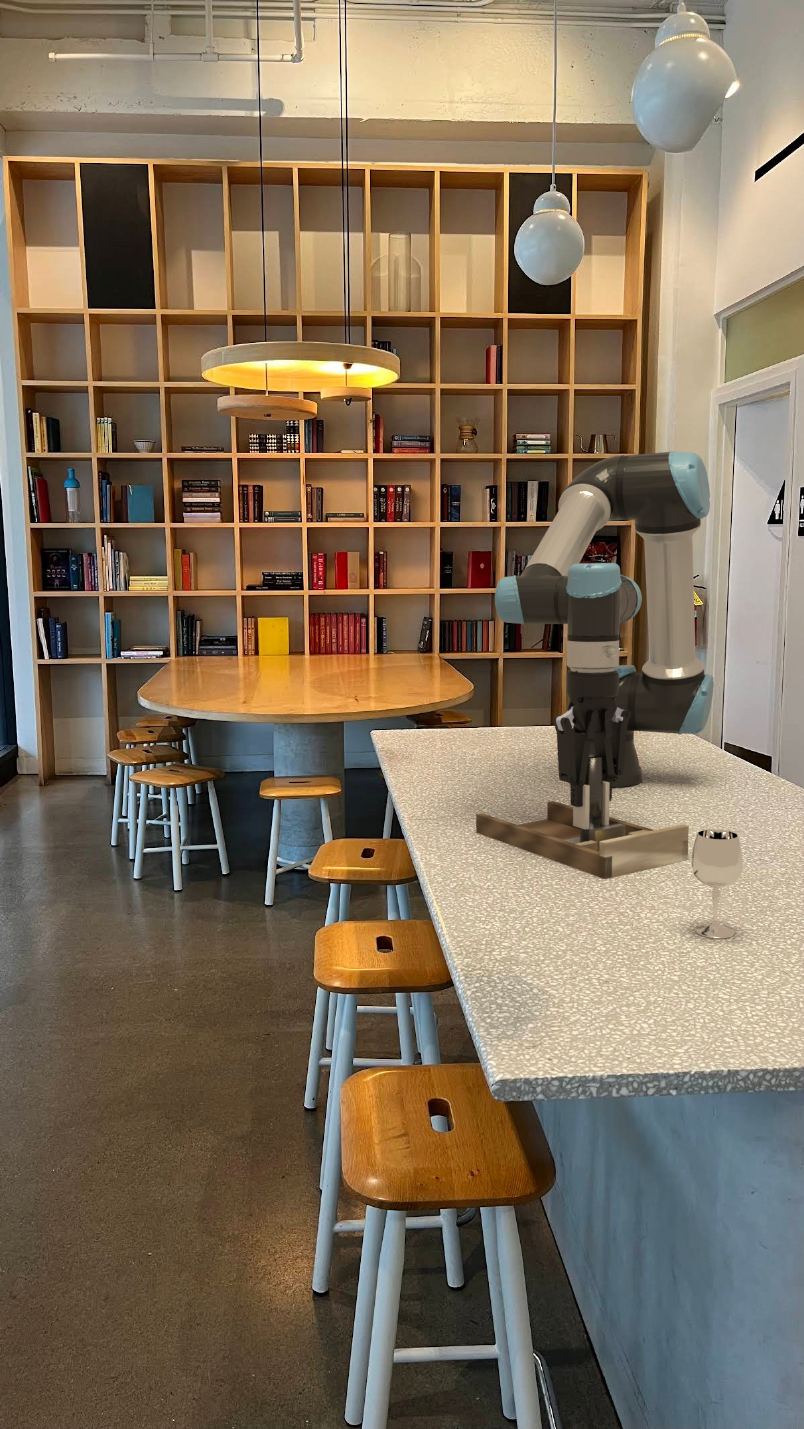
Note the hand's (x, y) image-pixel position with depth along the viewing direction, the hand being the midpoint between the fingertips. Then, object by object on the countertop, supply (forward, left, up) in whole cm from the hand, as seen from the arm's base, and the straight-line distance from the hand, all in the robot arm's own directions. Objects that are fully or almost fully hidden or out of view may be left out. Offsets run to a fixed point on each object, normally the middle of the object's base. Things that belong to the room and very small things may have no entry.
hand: (591, 824), depth 153 cm
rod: (+1, 0, -4) cm, 4 cm away
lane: (-3, 0, -5) cm, 6 cm away
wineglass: (+32, -9, -5) cm, 33 cm away
